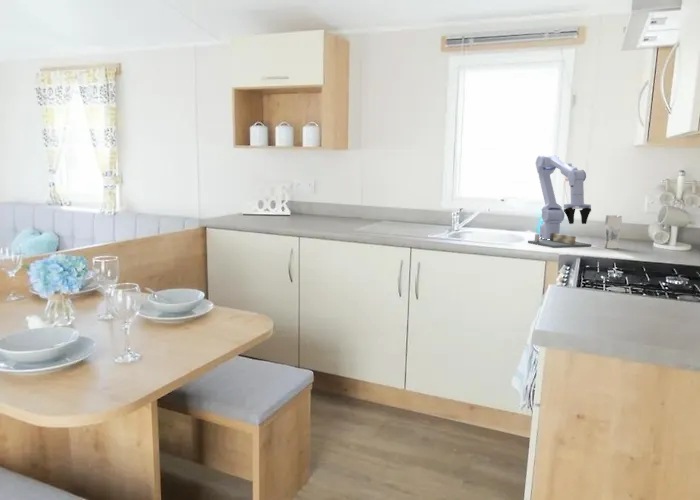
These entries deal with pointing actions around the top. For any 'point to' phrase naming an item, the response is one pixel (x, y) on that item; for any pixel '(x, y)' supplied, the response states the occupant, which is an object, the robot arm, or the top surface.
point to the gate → (562, 238)
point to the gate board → (556, 243)
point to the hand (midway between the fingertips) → (577, 223)
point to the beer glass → (612, 231)
